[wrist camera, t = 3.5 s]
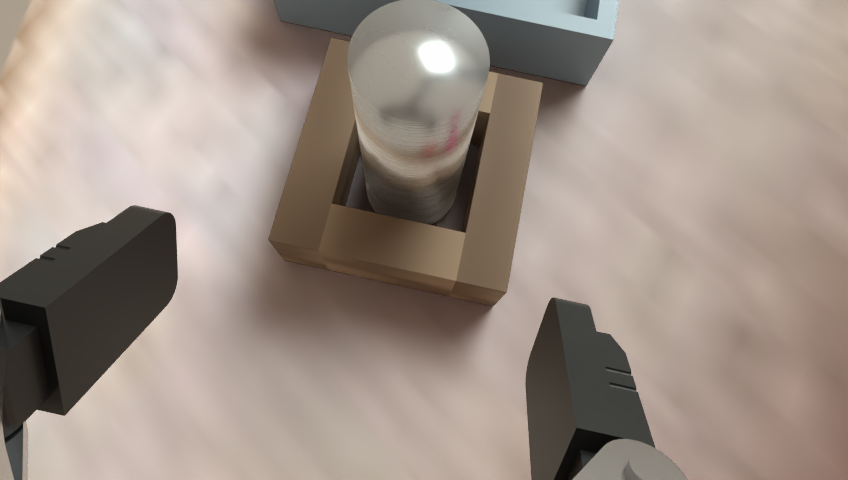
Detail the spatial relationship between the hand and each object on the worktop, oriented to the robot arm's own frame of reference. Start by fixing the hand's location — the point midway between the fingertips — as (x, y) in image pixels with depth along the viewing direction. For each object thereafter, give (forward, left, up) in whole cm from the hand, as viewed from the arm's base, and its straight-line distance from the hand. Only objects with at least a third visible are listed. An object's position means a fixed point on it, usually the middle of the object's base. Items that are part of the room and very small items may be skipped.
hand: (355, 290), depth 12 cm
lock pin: (0, -7, -11) cm, 13 cm away
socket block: (0, -7, -11) cm, 13 cm away
